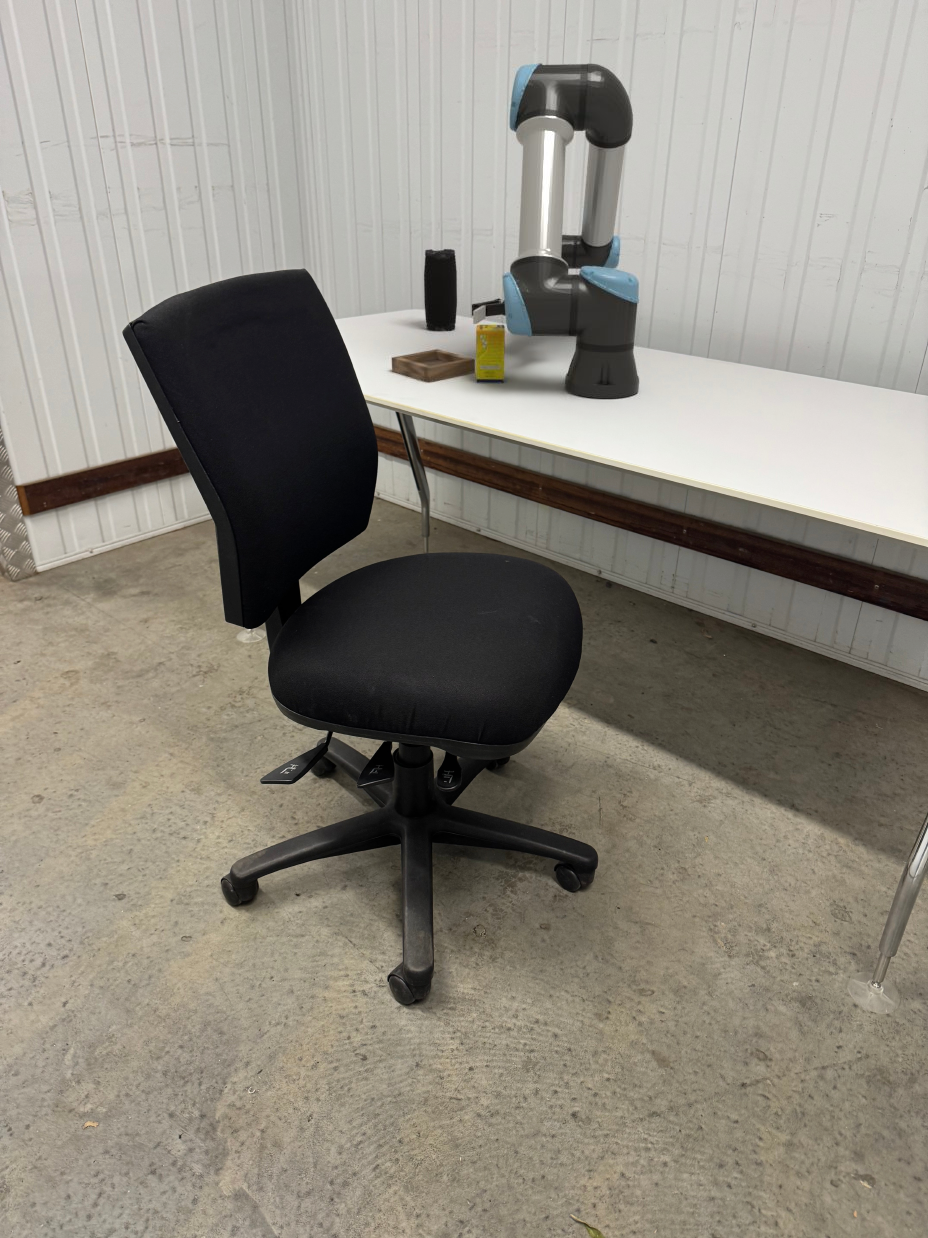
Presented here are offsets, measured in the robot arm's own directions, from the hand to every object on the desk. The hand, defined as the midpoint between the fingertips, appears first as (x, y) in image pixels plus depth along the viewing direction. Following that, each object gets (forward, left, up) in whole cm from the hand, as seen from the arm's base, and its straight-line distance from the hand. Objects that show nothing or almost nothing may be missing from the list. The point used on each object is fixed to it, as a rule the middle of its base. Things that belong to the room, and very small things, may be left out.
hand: (504, 319), depth 194 cm
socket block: (+8, +14, -11) cm, 19 cm away
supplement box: (-5, +9, -11) cm, 15 cm away
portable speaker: (+44, -18, -11) cm, 49 cm away
